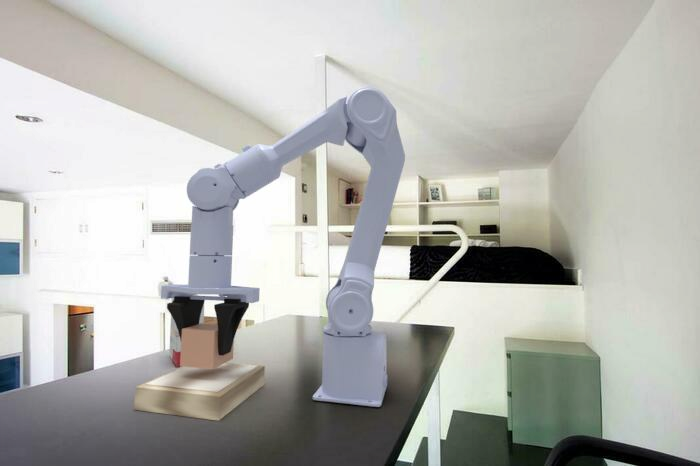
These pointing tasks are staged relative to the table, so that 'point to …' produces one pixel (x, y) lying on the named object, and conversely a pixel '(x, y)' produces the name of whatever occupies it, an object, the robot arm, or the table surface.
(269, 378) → the table surface
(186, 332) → the terracotta cube
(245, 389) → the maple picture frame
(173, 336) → the ink box
